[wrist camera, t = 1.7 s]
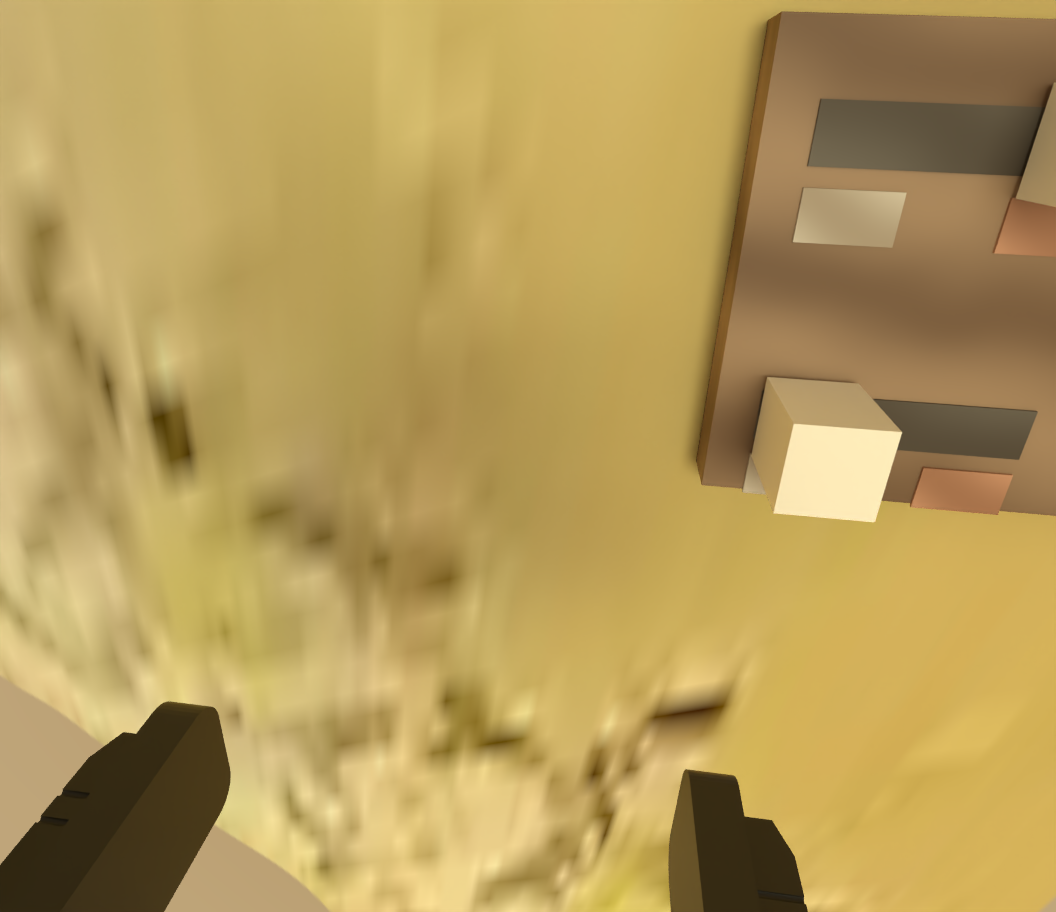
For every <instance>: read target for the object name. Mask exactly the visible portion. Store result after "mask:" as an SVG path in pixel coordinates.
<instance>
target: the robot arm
mask: <svg viewBox="0 0 1056 912" xmlns="http://www.w3.org/2000/svg"><path fill="white" fill-rule="evenodd" d="M229 786H230V767H229V762H228V757H227V753H226V748H225V743H224V738H223V734H222V729H221V724H220V720H219V715H218V712H217V710H216V709H215V708H213V707H208V706H201V705H193V704H185V703H177V702H165V703H163V704H161V705H160V706H159V707H157V708H156V710H155V711H154V712H153V713H152V714H151V716H150V717H149V718H148V720H147V721H146V722H145V723H144V725H143V726H142V727H141V728H140V730H139V731H138V732H137V734H133V733H125V732H123V733H122V734H120V735H119V736H118V737H116V738H115V739H114V740H112V741H111V742H110V743H108V744H107V745H105V746H104V747H103V748H101V749H100V750H99V751H97V752H96V753H95V754H93V755H92V756H90V757H89V758H88V759H87V760H86V762H85V763H84V764H83V765H82V767H81V768H80V769H79V770H78V771H77V773H76V774H75V775H74V776H73V778H72V779H71V780H70V781H69V782H68V784H67V785H66V786H65V787H64V788H63V792H62V794H61V795H60V796H57V797H56V798H55V799H54V800H53V802H52V803H51V804H50V805H49V807H48V808H47V809H46V810H45V811H44V813H43V814H42V815H41V820H40V821H39V822H38V823H35V824H34V825H33V826H32V827H31V828H30V830H29V831H28V832H27V833H26V834H25V836H24V837H23V838H22V839H21V840H20V842H19V843H18V844H17V845H16V846H15V848H14V849H13V850H12V851H11V853H10V854H9V855H8V856H7V857H6V859H5V860H4V861H3V862H2V863H1V865H0V912H164V911H165V909H166V907H167V905H168V904H169V902H170V900H171V899H172V897H173V895H174V893H175V892H176V890H177V888H178V886H179V885H180V883H181V881H182V879H183V878H184V876H185V874H186V872H187V871H188V869H189V867H190V865H191V863H192V862H193V860H194V858H195V856H196V855H197V853H198V851H199V849H200V848H201V846H202V844H203V843H204V841H205V839H206V837H207V836H208V834H209V832H210V830H211V828H212V827H213V825H214V823H215V822H216V820H217V818H218V816H219V815H220V813H221V811H222V809H223V806H224V804H225V801H226V798H227V795H228V791H229ZM669 888H670V904H671V912H808V911H807V907H806V904H804V894H803V890H802V885H801V881H800V877H799V873H798V869H797V864H796V860H795V856H794V855H793V853H792V851H791V850H790V848H789V847H788V845H787V844H786V842H785V840H784V839H783V837H782V836H781V834H780V832H779V831H778V829H777V828H776V826H775V824H774V823H773V821H772V820H766V819H758V818H750V817H744V812H743V807H742V801H741V795H740V790H739V785H738V782H737V779H736V777H735V776H733V775H726V774H718V773H710V772H702V771H694V770H687V769H686V770H685V771H684V773H683V776H682V781H681V786H680V790H679V795H678V800H677V805H676V810H675V814H674V819H673V824H672V829H671V834H670V843H669Z"/></svg>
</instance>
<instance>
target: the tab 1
mask: <svg viewBox="0 0 1056 912" xmlns="http://www.w3.org/2000/svg"><path fill="white" fill-rule="evenodd" d="M901 434H902V431H901V430H900V429H899V428H898V427H897V426H896V425H895V424H894V423H893V421H892V420H891V419H890V418H889V417H888V416H887V415H886V414H885V412H884V411H883V410H882V409H881V408H880V407H879V406H878V405H877V404H876V402H875V401H874V400H873V399H872V398H871V397H870V396H869V395H868V393H867V392H866V391H865V390H864V389H863V388H862V387H861V386H860V384H858V383H844V382H831V381H817V380H803V379H789V378H776V377H767V380H766V385H765V390H764V395H763V400H762V405H761V410H760V415H759V420H758V425H757V430H756V435H755V440H754V445H753V450H752V455H751V457H752V459H753V462H754V464H755V467H756V469H757V472H758V475H759V477H760V480H761V482H762V485H763V487H764V490H765V493H766V495H767V498H768V500H769V503H770V505H771V508H772V511H773V513H778V514H789V515H800V516H811V517H822V518H833V519H844V520H856V521H867V522H875V520H876V516H877V513H878V510H879V507H880V503H881V500H882V497H883V493H884V490H885V487H886V484H887V480H888V477H889V474H890V471H891V467H892V464H893V461H894V457H895V454H896V451H897V448H898V444H899V441H900V438H901Z"/></svg>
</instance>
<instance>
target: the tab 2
mask: <svg viewBox="0 0 1056 912" xmlns="http://www.w3.org/2000/svg"><path fill="white" fill-rule="evenodd" d="M1016 199H1020V200H1024V201H1029V202H1034V203H1039V204H1043V205H1048V206H1053V207H1056V82H1054V84H1053V87H1052V90H1051V93H1050V96H1049V99H1048V102H1047V105H1046V108H1045V111H1044V114H1043V117H1042V120H1041V123H1040V126H1039V129H1038V132H1037V135H1036V138H1035V141H1034V144H1033V147H1032V150H1031V154H1030V157H1029V160H1028V163H1027V166H1026V169H1025V172H1024V175H1023V178H1022V181H1021V184H1020V187H1019V190H1018V193H1017V196H1016Z"/></svg>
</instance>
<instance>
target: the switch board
mask: <svg viewBox="0 0 1056 912" xmlns="http://www.w3.org/2000/svg"><path fill="white" fill-rule="evenodd" d="M1054 82H1056V19H1033V18H997V17H961V16H925V15H889V14H853V13H817V12H780V13H779V14H777V15H776V16H774V17H773V18H771V19H769V20H768V24H767V30H766V36H765V42H764V49H763V55H762V61H761V67H760V73H759V79H758V85H757V92H756V98H755V104H754V110H753V116H752V122H751V128H750V135H749V141H748V147H747V153H746V159H745V165H744V171H743V178H742V184H741V190H740V196H739V202H738V208H737V214H736V221H735V227H734V233H733V239H732V245H731V251H730V257H729V264H728V270H727V276H726V282H725V288H724V294H723V300H722V307H721V313H720V319H719V325H718V331H717V337H716V343H715V350H714V356H713V362H712V368H711V374H710V380H709V386H708V393H707V399H706V405H705V411H704V417H703V423H702V429H701V436H700V442H699V448H698V454H697V460H696V462H697V466H698V471H699V475H700V480H701V484H702V485H708V486H720V487H731V488H743V489H742V492H744V493H755V494H766V493H765V490H764V487H763V485H762V482H761V480H760V477H759V475H758V472H757V469H756V467H755V464H754V462H753V459H752V457H751V455H752V450H753V445H754V440H755V435H756V430H757V425H758V420H759V415H760V410H761V405H762V400H763V395H764V390H765V385H766V380H767V377H776V378H789V379H803V380H817V381H831V382H844V383H858V384H860V386H861V387H862V388H863V389H864V390H865V391H866V392H867V393H868V395H869V396H870V397H871V398H872V399H873V400H874V401H875V402H876V404H877V405H878V406H879V407H880V408H881V409H882V410H883V411H884V412H885V414H886V415H887V416H888V417H889V418H890V419H891V420H892V421H893V423H894V424H895V425H896V426H897V427H898V428H899V429H900V430H901V431H902V434H901V438H900V441H899V444H898V448H897V451H896V454H895V457H894V461H893V464H892V467H891V471H890V474H889V477H888V480H887V484H886V487H885V490H884V493H883V497H882V500H881V501H892V502H903V503H910V507H915V508H927V509H938V510H949V511H961V512H972V513H984V514H995V515H998V513H999V511H1007V512H1018V513H1030V514H1041V515H1053V516H1056V207H1053V206H1048V205H1043V204H1039V203H1034V202H1029V201H1024V200H1020V199H1016V196H1017V193H1018V190H1019V187H1020V184H1021V181H1022V178H1023V175H1024V172H1025V169H1026V166H1027V163H1028V160H1029V157H1030V154H1031V150H1032V147H1033V144H1034V141H1035V138H1036V135H1037V132H1038V129H1039V126H1040V123H1041V120H1042V117H1043V114H1044V111H1045V108H1046V105H1047V102H1048V99H1049V96H1050V93H1051V90H1052V87H1053V84H1054Z"/></svg>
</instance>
